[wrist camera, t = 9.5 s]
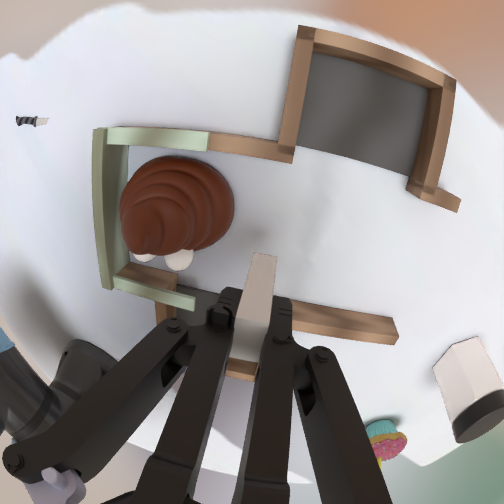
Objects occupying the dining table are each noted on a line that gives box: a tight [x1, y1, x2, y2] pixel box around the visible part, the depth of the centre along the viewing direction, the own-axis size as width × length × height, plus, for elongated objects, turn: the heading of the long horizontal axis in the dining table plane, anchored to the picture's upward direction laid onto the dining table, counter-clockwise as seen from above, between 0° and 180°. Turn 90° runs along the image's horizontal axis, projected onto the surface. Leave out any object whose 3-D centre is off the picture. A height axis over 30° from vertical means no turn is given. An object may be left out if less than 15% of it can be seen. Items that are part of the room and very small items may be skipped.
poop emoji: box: [119, 156, 234, 271], centre depth 19 cm, size 10×8×9 cm
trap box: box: [92, 25, 461, 382], centre depth 22 cm, size 30×34×4 cm
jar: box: [433, 337, 504, 443], centre depth 22 cm, size 9×8×12 cm
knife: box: [16, 116, 48, 127], centre depth 21 cm, size 19×2×1 cm, turn 82°
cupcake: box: [366, 420, 407, 469], centre depth 30 cm, size 9×8×12 cm
